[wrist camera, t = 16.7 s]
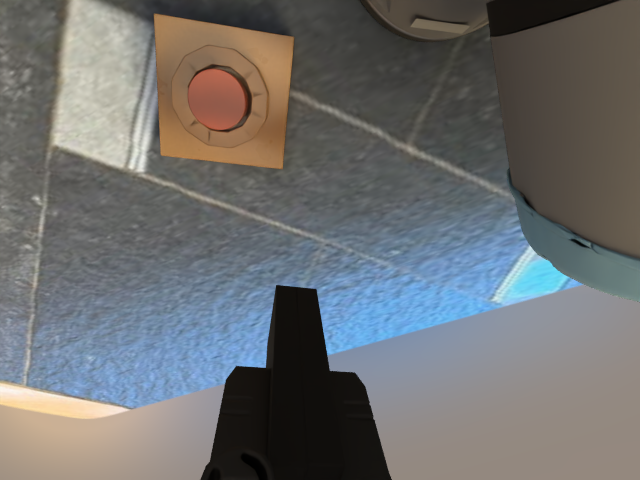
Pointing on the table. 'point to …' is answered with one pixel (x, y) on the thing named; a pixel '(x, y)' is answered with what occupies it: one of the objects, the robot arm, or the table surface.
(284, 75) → the button block
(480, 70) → the table surface
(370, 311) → the table surface
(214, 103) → the button
